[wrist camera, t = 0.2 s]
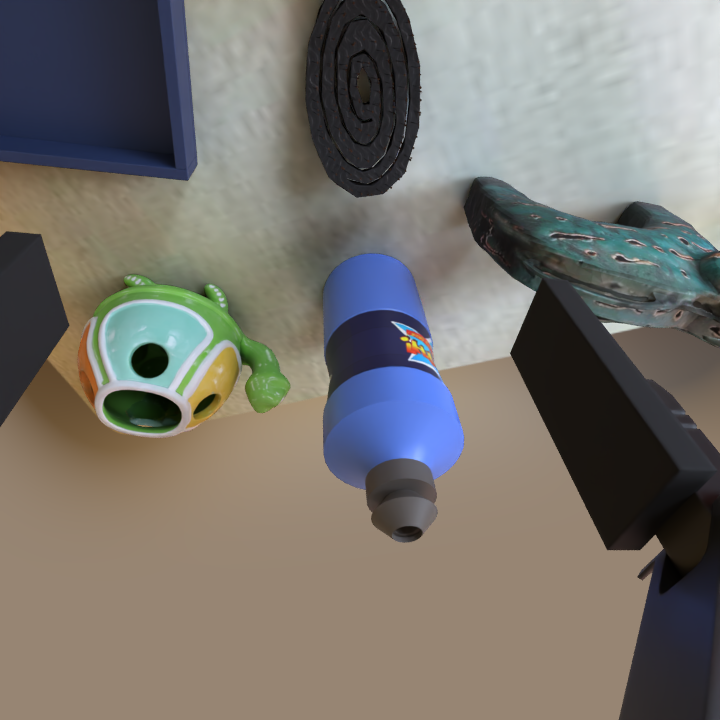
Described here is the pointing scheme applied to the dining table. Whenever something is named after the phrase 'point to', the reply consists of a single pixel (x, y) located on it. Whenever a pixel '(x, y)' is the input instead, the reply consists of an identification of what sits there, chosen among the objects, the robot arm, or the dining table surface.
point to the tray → (97, 86)
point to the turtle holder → (170, 359)
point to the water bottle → (385, 395)
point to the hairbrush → (354, 40)
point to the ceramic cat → (605, 258)
